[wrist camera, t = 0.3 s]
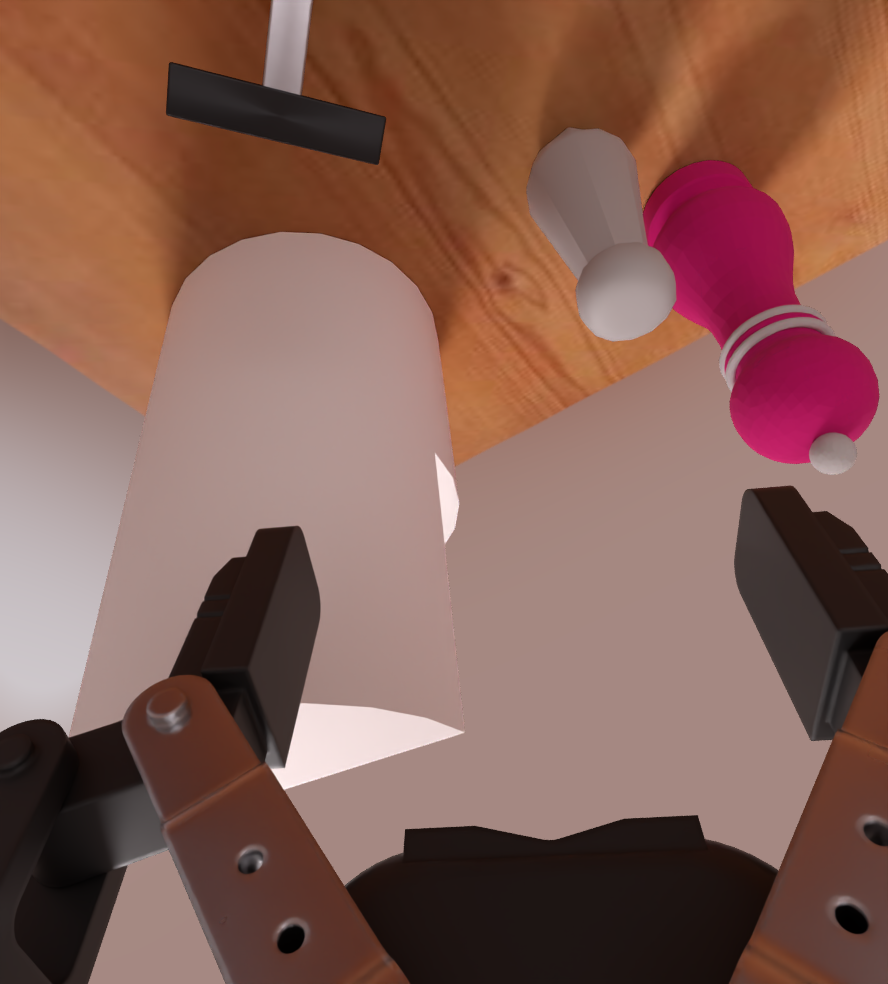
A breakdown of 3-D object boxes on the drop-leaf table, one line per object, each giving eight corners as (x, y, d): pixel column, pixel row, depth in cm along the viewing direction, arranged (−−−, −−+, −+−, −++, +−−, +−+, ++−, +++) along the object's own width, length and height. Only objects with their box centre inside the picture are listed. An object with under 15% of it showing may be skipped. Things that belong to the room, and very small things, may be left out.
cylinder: (107, 326, 45) (-42, 794, 27) (327, 173, 39) (315, 652, 21) (293, 471, 57) (272, 861, 39) (485, 371, 51) (560, 783, 33)
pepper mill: (700, 124, 39) (873, 379, 26) (783, 190, 42) (971, 444, 29) (606, 231, 43) (716, 493, 30) (688, 283, 46) (817, 538, 34)
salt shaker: (572, 231, 43) (626, 381, 35) (498, 179, 40) (538, 329, 32) (647, 149, 39) (727, 295, 31) (572, 86, 36) (638, 228, 28)
